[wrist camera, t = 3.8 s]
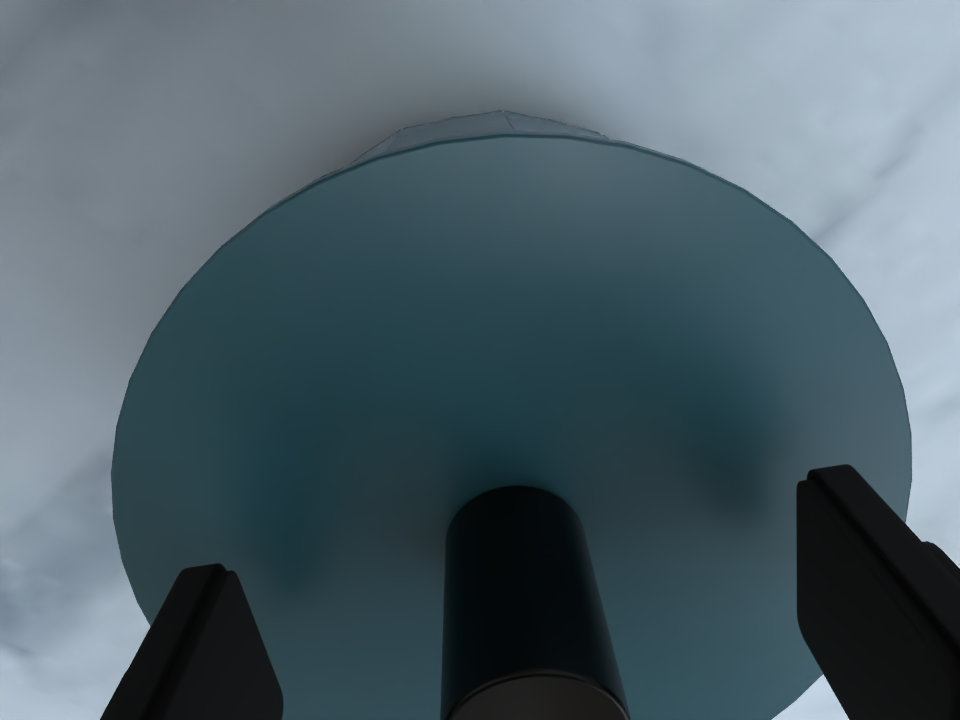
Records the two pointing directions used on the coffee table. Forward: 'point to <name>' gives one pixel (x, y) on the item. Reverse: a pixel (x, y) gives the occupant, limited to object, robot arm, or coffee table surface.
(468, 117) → the pot
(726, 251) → the lid
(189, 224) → the coffee table surface
